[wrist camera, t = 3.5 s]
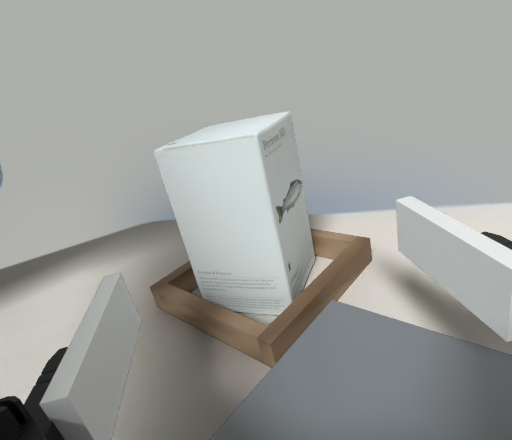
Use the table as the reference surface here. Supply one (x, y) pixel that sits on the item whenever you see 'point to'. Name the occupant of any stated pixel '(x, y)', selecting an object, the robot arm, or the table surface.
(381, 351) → the slate trivet
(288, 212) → the supplement box
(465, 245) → the robot arm
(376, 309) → the table surface
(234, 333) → the walnut holder
